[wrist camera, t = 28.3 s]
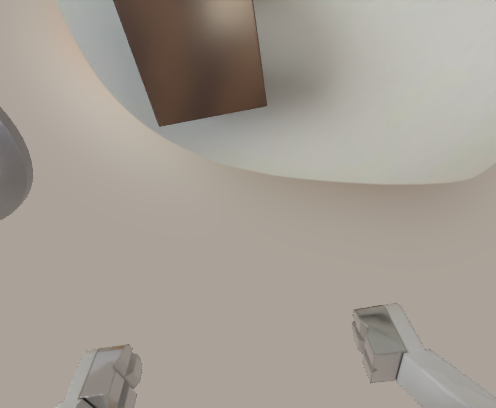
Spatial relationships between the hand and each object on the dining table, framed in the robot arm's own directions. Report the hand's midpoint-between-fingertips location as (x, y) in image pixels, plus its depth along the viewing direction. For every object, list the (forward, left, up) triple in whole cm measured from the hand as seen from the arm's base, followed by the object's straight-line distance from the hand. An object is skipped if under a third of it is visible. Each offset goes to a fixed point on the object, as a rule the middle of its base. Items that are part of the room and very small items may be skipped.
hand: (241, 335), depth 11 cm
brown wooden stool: (-2, +6, -33) cm, 34 cm away
